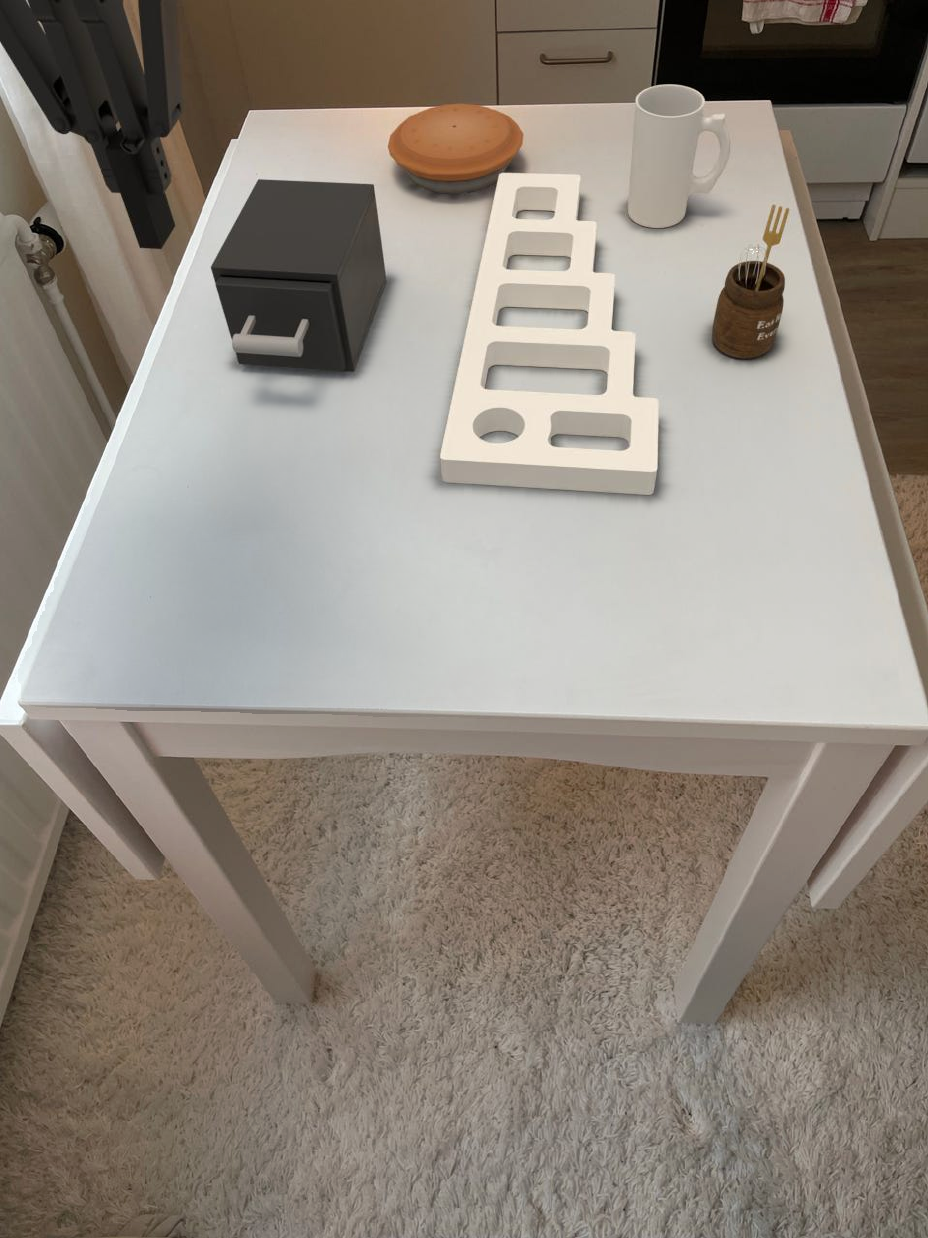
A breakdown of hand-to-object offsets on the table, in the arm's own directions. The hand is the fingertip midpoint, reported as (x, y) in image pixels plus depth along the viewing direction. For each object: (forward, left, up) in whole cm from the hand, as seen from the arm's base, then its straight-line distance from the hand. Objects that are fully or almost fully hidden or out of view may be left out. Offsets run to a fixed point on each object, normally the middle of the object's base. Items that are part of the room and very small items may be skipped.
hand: (157, 236), depth 63 cm
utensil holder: (+49, +1, -25) cm, 55 cm away
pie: (+35, +42, -25) cm, 60 cm away
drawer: (+10, +18, -24) cm, 31 cm away
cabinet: (+12, +21, -24) cm, 34 cm away
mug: (+53, +23, -25) cm, 63 cm away
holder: (+35, +10, -25) cm, 44 cm away
